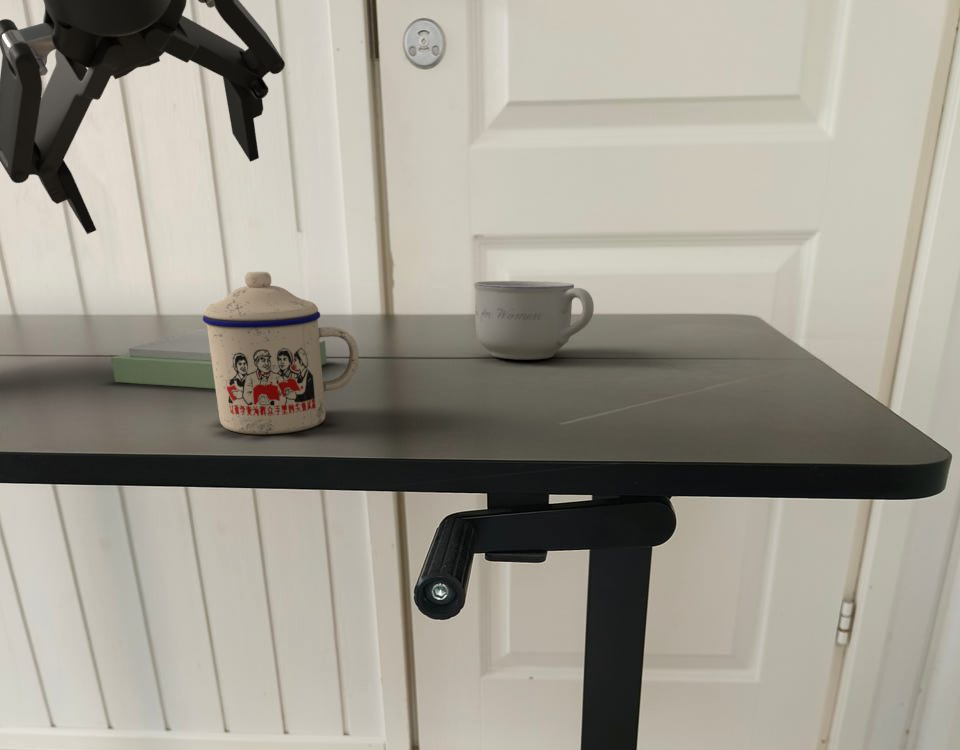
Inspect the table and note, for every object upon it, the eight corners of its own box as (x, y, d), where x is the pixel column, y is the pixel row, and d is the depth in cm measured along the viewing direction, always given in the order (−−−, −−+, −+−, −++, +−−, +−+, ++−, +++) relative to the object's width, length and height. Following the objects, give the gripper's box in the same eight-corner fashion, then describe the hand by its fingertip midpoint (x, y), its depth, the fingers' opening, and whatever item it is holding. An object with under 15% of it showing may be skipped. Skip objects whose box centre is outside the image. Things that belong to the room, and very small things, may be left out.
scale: (115, 382, 92) (109, 349, 90) (200, 356, 104) (196, 326, 103) (255, 391, 87) (251, 356, 86) (327, 363, 100) (324, 332, 98)
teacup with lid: (220, 440, 71) (198, 280, 66) (215, 414, 79) (195, 269, 73) (372, 428, 74) (363, 274, 69) (353, 404, 82) (343, 264, 77)
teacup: (455, 356, 102) (453, 280, 99) (524, 345, 109) (525, 273, 105) (543, 374, 93) (545, 291, 89) (613, 361, 99) (618, 282, 96)
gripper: (-104, 65, 46) (36, 291, 67) (330, -102, 51) (334, 156, 72) (-176, -55, 46) (-15, 207, 67) (261, -208, 51) (285, 79, 72)
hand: (166, 181), depth 69 cm, fingers open, 13 cm apart
